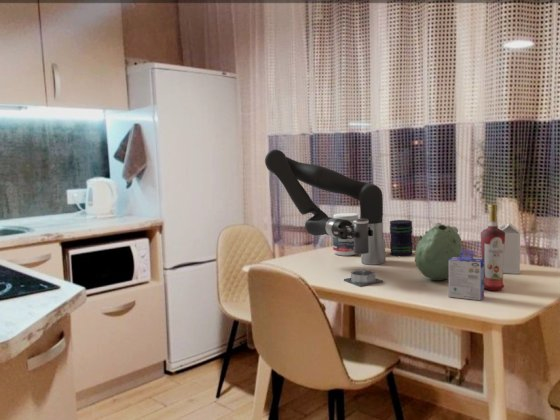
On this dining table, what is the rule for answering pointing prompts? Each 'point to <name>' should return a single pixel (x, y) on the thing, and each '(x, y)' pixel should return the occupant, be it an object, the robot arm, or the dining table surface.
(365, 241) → the tube
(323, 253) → the dining table surface
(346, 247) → the supplement tub
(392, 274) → the dining table surface
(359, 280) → the grey ring on plate
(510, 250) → the milk carton
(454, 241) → the green bumpy vase
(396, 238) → the storage jar
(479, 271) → the ink cartridge box
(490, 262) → the liquor
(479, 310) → the dining table surface
